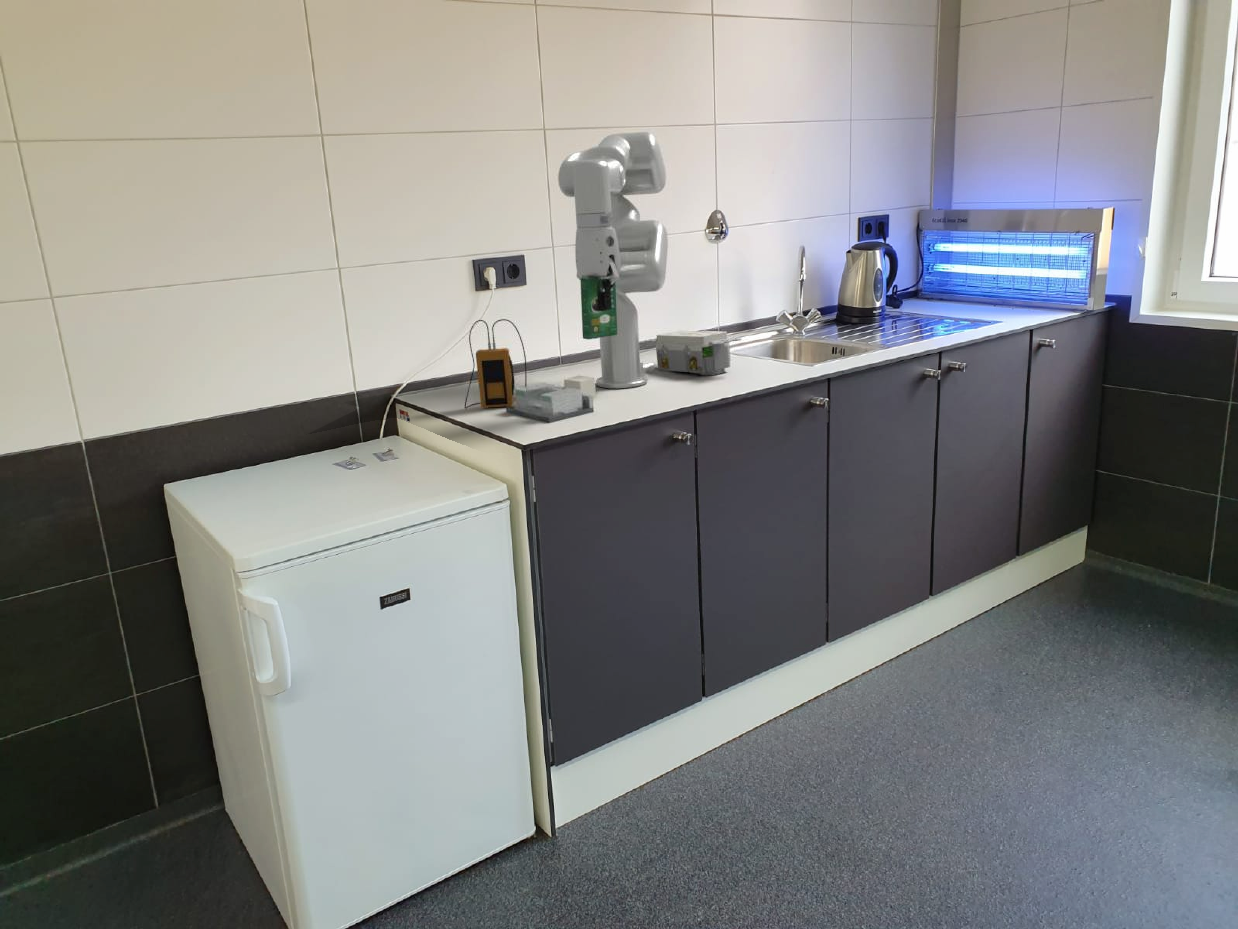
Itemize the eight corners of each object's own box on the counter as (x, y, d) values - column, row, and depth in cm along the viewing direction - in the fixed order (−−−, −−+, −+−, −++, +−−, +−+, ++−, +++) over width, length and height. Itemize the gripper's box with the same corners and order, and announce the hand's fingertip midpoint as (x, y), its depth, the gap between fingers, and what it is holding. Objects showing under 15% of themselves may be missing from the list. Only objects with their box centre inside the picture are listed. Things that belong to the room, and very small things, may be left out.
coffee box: (610, 333, 204) (607, 273, 200) (619, 334, 202) (616, 274, 198) (582, 338, 199) (578, 277, 195) (590, 340, 197) (586, 278, 193)
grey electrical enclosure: (716, 379, 223) (713, 337, 221) (641, 372, 245) (638, 335, 243) (750, 371, 230) (747, 331, 227) (674, 365, 252) (671, 329, 250)
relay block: (579, 396, 216) (578, 375, 215) (595, 398, 213) (594, 377, 211) (565, 400, 212) (563, 379, 211) (581, 403, 209) (580, 381, 208)
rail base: (549, 401, 212) (547, 380, 210) (593, 411, 200) (592, 389, 199) (506, 411, 204) (504, 389, 203) (549, 422, 193) (547, 399, 191)
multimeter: (531, 396, 218) (524, 312, 212) (529, 406, 209) (521, 318, 203) (469, 400, 218) (460, 315, 212) (464, 410, 209) (455, 321, 203)
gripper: (633, 220, 190) (637, 309, 195) (583, 220, 201) (589, 304, 207) (605, 223, 185) (611, 314, 190) (556, 223, 197) (562, 309, 202)
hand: (599, 308), depth 199 cm, fingers closed on coffee box, 3 cm apart
